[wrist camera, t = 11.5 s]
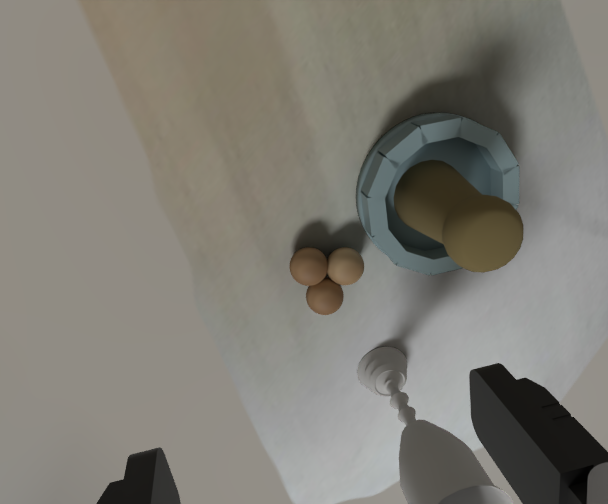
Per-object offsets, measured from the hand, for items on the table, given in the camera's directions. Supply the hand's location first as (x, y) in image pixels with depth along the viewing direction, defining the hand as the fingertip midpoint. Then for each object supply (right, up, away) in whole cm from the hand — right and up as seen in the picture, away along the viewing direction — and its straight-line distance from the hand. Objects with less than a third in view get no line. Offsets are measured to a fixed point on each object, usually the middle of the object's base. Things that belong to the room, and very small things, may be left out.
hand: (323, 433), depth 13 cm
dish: (+10, +10, +31) cm, 34 cm away
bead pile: (+1, +3, +32) cm, 32 cm away
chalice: (+7, -7, +37) cm, 38 cm away
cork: (+10, +9, +30) cm, 33 cm away
